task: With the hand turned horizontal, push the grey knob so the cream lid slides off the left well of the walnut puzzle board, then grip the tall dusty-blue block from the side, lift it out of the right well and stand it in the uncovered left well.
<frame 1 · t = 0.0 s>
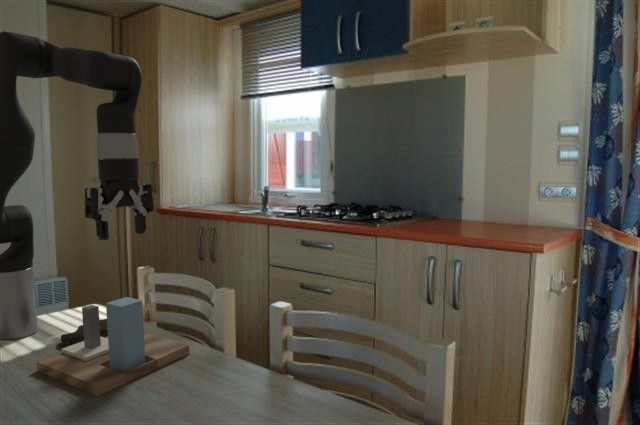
hand: (122, 236, 99), 29 cm above the table, tool pointing down, fingers open, 8 cm apart
block: (128, 370, 102), resting on board
stone: (95, 336, 125), on the table
lid: (91, 328, 108), point 8 cm above the table, slide at 0.0 cm
board: (116, 363, 107), on the table
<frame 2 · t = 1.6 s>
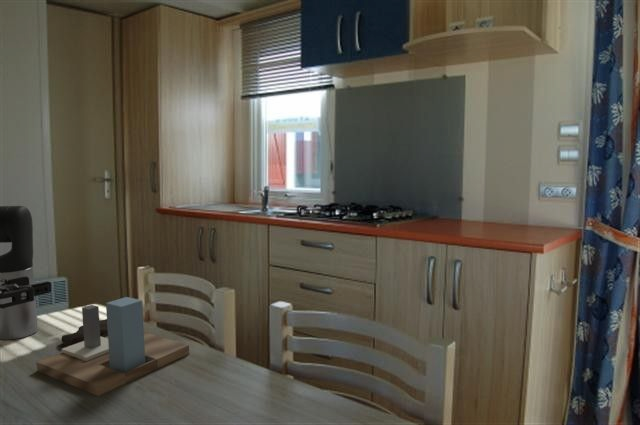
hand: (38, 283, 97), 20 cm above the table, tool horizontal, fingers open, 7 cm apart
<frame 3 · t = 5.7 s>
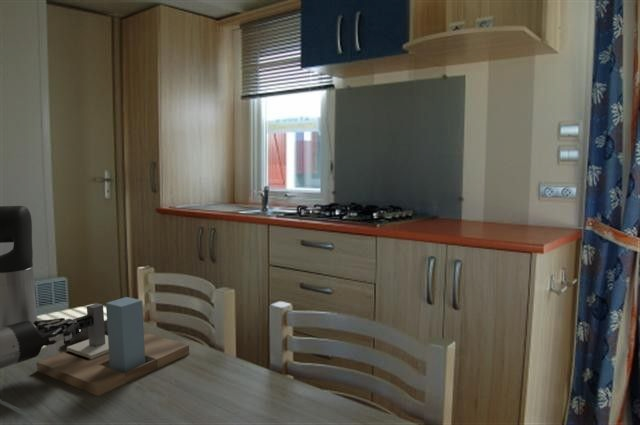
hand: (90, 319, 108), 9 cm above the table, tool horizontal, fingers closed
stone: (98, 338, 123), on the table
lid: (96, 326, 109), point 8 cm above the table, slide at 1.2 cm, touching gripper
everything else where it was.
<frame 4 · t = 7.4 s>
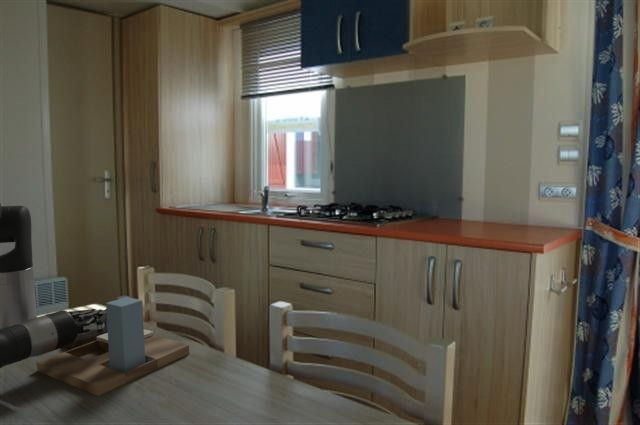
hand: (119, 310, 114), 9 cm above the table, tool horizontal, fingers closed
lid: (124, 317, 115), point 8 cm above the table, slide at 8.5 cm, touching gripper
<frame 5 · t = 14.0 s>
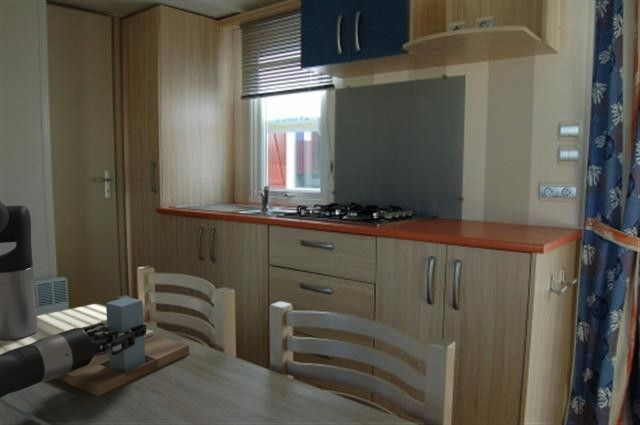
hand: (136, 326, 104), 9 cm above the table, tool horizontal, fingers closed on block, 5 cm apart
block: (128, 370, 102), point 1 cm above the table, touching board, gripper
stone: (101, 340, 122), on the table
lid: (125, 317, 115), point 8 cm above the table, slide at 8.7 cm
when the fingers open (11 cm above the table, at t = 18.3 s): block drops 1 cm, resting on board.
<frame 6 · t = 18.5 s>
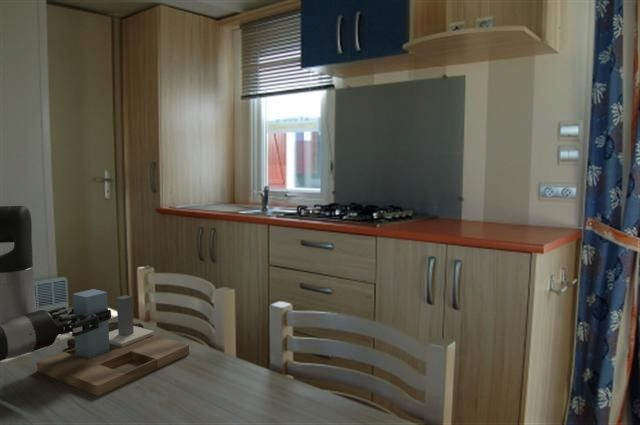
hand: (99, 311, 109), 11 cm above the table, tool horizontal, fingers open, 6 cm apart
block: (92, 358, 109), point 1 cm above the table, touching board
everything else where it was.
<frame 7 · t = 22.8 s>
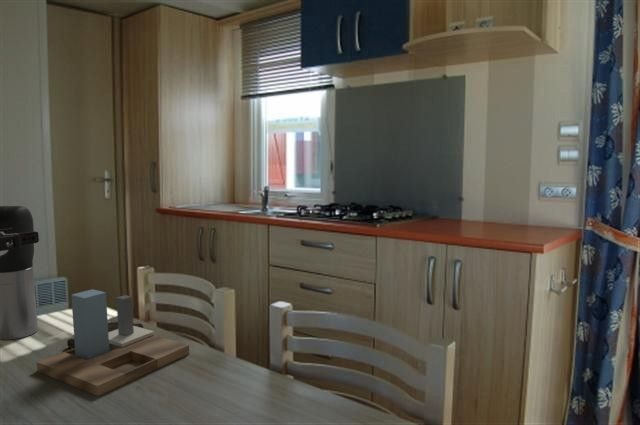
hand: (26, 234, 97), 30 cm above the table, tool horizontal, fingers open, 8 cm apart
nothing on the table moved.
at the end: lid slide at 8.7 cm; block 0.1 cm from the target spot, point 0.5 cm above the table; block tilted 0° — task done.
